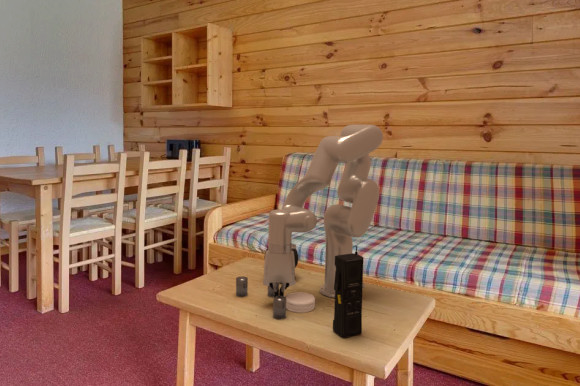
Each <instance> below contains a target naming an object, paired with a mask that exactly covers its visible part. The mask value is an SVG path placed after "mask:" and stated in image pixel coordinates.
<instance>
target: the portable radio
mask: <svg viewBox="0 0 580 386" xmlns="http://www.w3.org/2000/svg"><path fill="white" fill-rule="evenodd" d="M335 266H336V271H335V282H334V290H335V298H334V307H333V308H334V309H333V311H334V314H333V319H332V330H333V332H334V333H335V334H336V335H338V336H339V337H340V338H343V339H344V338H348V337H352V336H356V335H361V334H362V332H363V331H362V330H363V326H362V325H363V321H362V320H363V319H362V316H363V288H362V287H363V283H364V280H363V277H364V256H362V255H360V254H359V253H358V246H357V245H355V252H354V253H353V252H352V253H351V254H344V255H337V256H335Z"/></svg>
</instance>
